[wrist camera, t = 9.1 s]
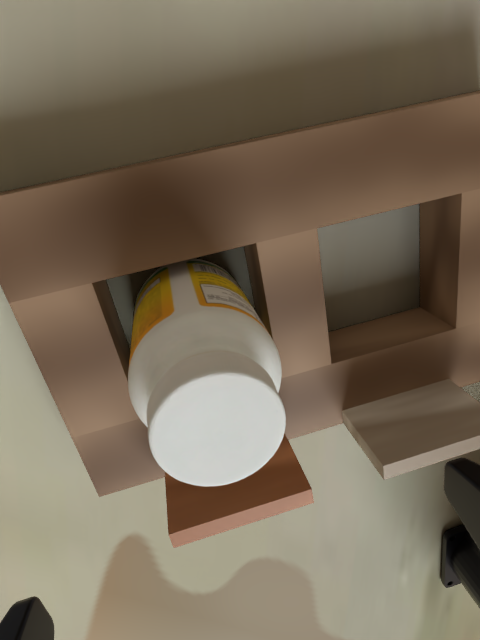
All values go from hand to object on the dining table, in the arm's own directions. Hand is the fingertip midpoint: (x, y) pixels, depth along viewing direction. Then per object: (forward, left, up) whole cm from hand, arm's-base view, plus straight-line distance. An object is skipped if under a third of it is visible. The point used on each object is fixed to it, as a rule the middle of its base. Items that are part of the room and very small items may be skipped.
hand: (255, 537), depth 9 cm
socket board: (0, -4, -13) cm, 14 cm away
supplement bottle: (0, 0, -13) cm, 13 cm away
